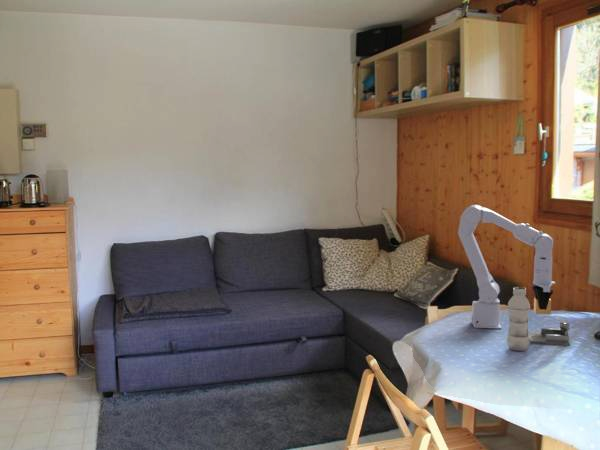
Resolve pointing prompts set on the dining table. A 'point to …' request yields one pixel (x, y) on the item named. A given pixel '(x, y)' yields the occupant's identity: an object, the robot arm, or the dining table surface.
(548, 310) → the block
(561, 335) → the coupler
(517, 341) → the plastic bottle
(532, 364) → the dining table surface
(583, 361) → the dining table surface
